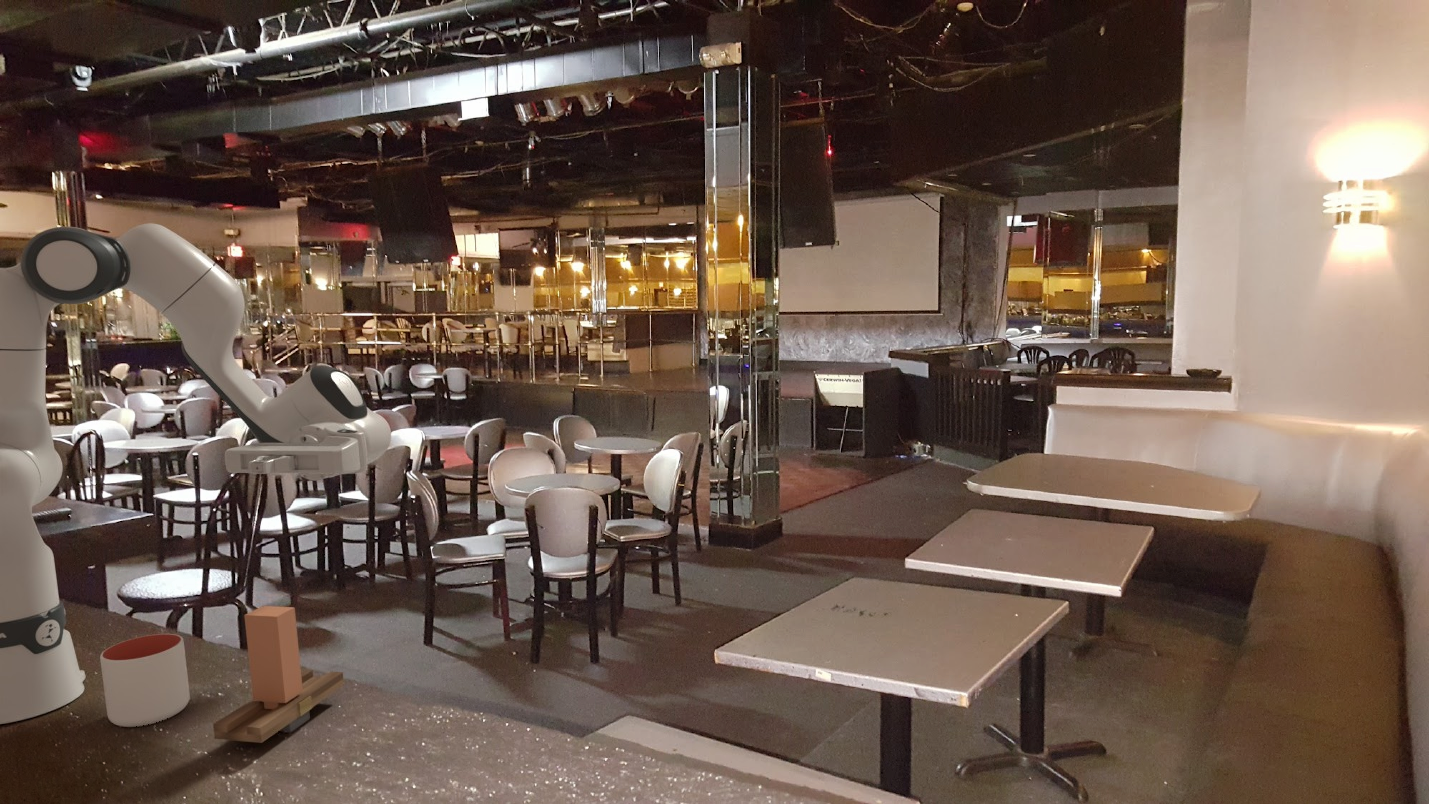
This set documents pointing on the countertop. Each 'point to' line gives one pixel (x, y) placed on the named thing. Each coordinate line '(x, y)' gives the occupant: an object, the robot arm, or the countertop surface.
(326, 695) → the beam
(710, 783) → the countertop surface
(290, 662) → the plate
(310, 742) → the countertop surface
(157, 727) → the countertop surface
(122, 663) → the cup
